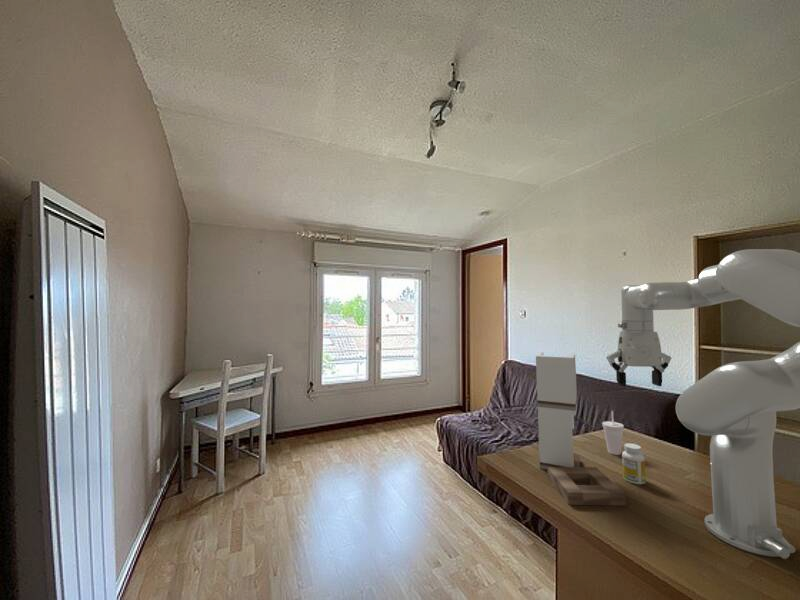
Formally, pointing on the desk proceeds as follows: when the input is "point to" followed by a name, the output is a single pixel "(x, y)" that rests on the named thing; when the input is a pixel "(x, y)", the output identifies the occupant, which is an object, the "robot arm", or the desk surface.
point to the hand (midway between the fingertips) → (639, 385)
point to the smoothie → (613, 436)
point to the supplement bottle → (633, 464)
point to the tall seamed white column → (556, 410)
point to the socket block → (585, 486)
